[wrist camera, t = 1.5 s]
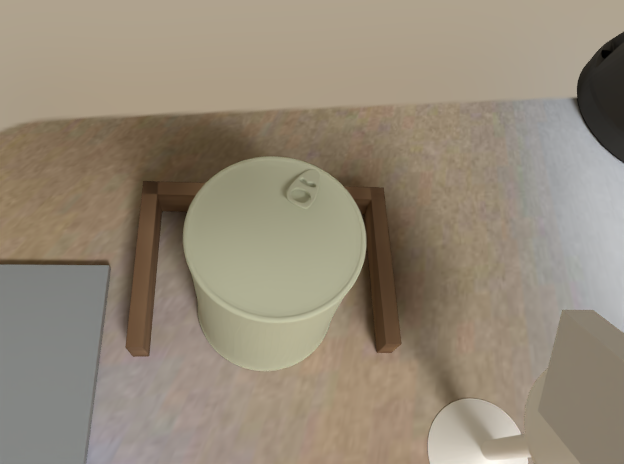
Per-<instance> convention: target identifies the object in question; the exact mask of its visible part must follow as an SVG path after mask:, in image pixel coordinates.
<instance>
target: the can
mask: <svg viewBox="0 0 624 464" xmlns="http://www.w3.org/2000/svg"><path fill="white" fill-rule="evenodd" d="M183 248H184V254H185V258H186V262H187V264H188V267H189V269H190V272H191V274H192V278H193V282H194V286H195V291H196V295H197V300H198V305H197V307H198V317H199V322H200V325H201V328H202V331H203V333H204V335H205V337H206V339H207V340H208V342H209V343H210V345H211V346H212V347H213V348H214V349H215V350H216V351H217V352H218V353H219V354H220V355H221V356H222V357H224V358H225V359H226V360H228V361H230V362H231V363H233V364H235V365H237V366H240V367H243V368H246V369H250V370H255V371H274V370H280V369H284V368H287V367H290V366H293V365H295V364H297V363H299V362H300V361H302V360H303V359H305V358H306V357H308V356H309V355H310V354H311V353H312V352H313V351H314V350H315V349H316V348H317V347H318V346H319V345H320V343H321V342H322V340H323V339H324V337H325V335H326V333H327V331H328V328H329V325H330V322H331V319H332V317H333V315H334V313H335V312H336V310H337V308H338V306H339V305H340V303H341V301H342V300H343V298H344V296H345V295H346V294H347V293H348V291H349V290H350V289H351V288H352V286H353V285H354V283H355V282H356V280H357V278H358V276H359V274H360V271H361V269H362V266H363V263H364V259H365V253H366V231H365V225H364V222H363V218H362V215H361V212H360V210H359V208H358V206H357V204H356V202H355V201H354V199H353V198H352V196H351V195H350V193H349V192H348V191H347V190H346V189H345V188H344V186H343V185H342V184H341V183H340V182H338V181H337V180H336V179H335V178H334V177H332V176H331V175H330V174H328V173H327V172H325V171H324V170H322V169H320V168H318V167H316V166H314V165H312V164H310V163H307V162H304V161H301V160H297V159H293V158H288V157H279V156H265V157H257V158H251V159H247V160H243V161H240V162H238V163H235V164H233V165H230V166H228V167H227V168H225V169H223V170H221V171H220V172H218V173H217V174H215V175H214V176H213V177H212V178H211V179H209V180H208V181H207V182H206V183H205V184H204V185H203V186H202V188H201V189H200V190H199V191H198V193H197V194H196V196H195V197H194V199H193V200H192V202H191V204H190V206H189V209H188V212H187V215H186V218H185V222H184V228H183Z"/></svg>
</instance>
